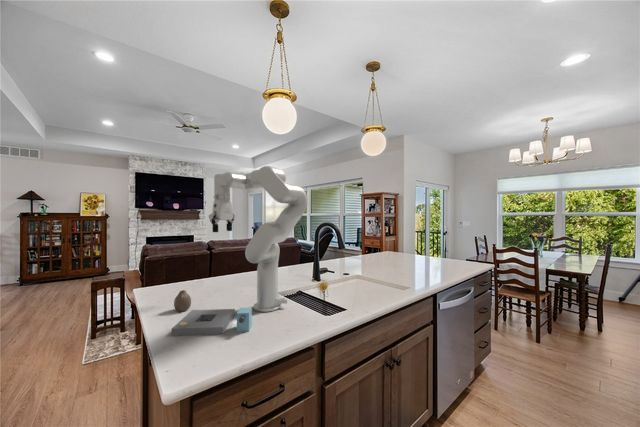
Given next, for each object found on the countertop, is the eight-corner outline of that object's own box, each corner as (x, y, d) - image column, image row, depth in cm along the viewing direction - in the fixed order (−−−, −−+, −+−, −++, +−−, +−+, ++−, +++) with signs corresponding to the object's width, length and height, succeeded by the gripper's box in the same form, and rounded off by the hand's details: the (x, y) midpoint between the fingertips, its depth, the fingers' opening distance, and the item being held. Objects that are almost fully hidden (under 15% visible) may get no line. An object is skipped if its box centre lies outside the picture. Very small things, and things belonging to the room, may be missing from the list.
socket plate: (234, 314, 113) (234, 307, 113) (222, 333, 95) (222, 324, 95) (192, 315, 112) (192, 308, 112) (171, 335, 94) (171, 326, 94)
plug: (251, 325, 103) (251, 307, 103) (247, 334, 95) (247, 315, 95) (240, 325, 103) (240, 307, 103) (235, 335, 95) (235, 315, 95)
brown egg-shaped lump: (170, 312, 116) (170, 292, 116) (183, 306, 123) (183, 288, 123) (182, 314, 114) (182, 294, 114) (194, 308, 121) (194, 289, 121)
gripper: (215, 197, 125) (215, 232, 125) (239, 198, 141) (239, 230, 141) (203, 197, 128) (203, 232, 128) (228, 199, 144) (228, 230, 144)
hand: (222, 231), depth 134 cm, fingers open, 9 cm apart
